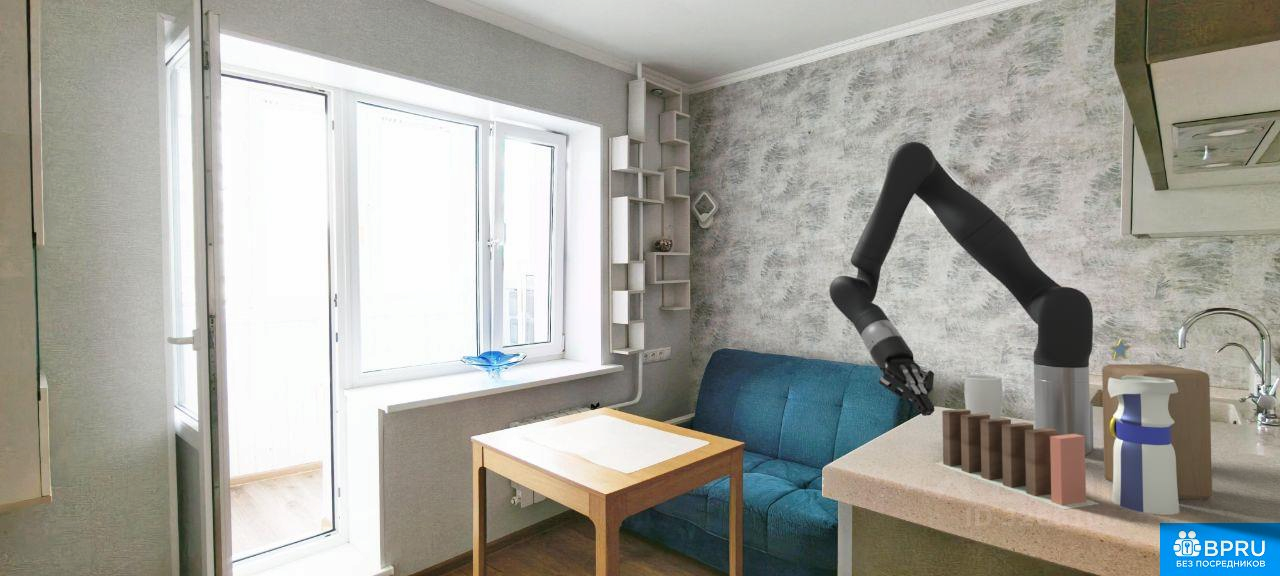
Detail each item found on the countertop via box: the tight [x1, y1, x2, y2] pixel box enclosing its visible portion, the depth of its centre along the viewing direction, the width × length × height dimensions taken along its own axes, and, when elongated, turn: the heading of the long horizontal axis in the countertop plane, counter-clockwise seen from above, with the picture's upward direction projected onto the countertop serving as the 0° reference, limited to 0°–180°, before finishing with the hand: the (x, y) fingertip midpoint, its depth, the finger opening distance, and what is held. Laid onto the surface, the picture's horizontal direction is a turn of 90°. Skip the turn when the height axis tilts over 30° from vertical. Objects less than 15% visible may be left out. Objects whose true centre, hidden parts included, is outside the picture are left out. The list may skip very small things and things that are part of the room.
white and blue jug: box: [1108, 338, 1180, 516], centre depth 88 cm, size 8×9×25 cm
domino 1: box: [941, 408, 971, 467], centre depth 110 cm, size 5×2×10 cm, turn 107°
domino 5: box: [1025, 428, 1058, 496], centre depth 94 cm, size 5×2×10 cm, turn 107°
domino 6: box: [1050, 434, 1087, 505], centre depth 90 cm, size 5×2×10 cm, turn 107°
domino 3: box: [980, 417, 1012, 480], centre depth 102 cm, size 5×2×10 cm, turn 107°
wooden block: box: [1101, 363, 1213, 501], centre depth 96 cm, size 10×10×20 cm
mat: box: [934, 461, 1099, 510], centre depth 100 cm, size 7×25×1 cm, turn 17°
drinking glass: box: [963, 374, 1003, 419], centre depth 121 cm, size 7×7×15 cm
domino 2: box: [961, 413, 990, 473], centre depth 106 cm, size 5×2×10 cm, turn 107°
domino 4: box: [1002, 422, 1035, 488], centre depth 98 cm, size 5×2×10 cm, turn 107°
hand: (929, 413), depth 116 cm, fingers closed
